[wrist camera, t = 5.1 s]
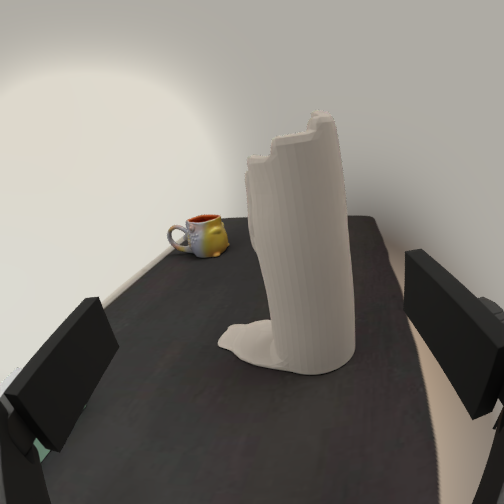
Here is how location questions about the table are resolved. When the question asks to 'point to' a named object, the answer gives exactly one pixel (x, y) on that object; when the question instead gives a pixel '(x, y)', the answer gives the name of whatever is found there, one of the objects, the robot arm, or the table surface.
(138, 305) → the table surface
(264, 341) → the candle
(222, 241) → the mug
